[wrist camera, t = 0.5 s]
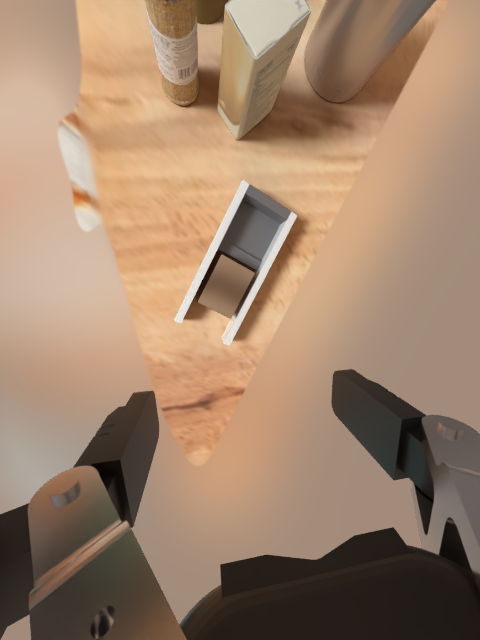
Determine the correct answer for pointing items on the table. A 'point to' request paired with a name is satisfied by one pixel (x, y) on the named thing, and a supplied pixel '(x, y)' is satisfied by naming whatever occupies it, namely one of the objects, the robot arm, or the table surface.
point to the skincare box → (256, 57)
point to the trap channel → (246, 246)
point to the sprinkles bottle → (176, 47)
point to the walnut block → (225, 286)
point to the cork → (209, 10)
